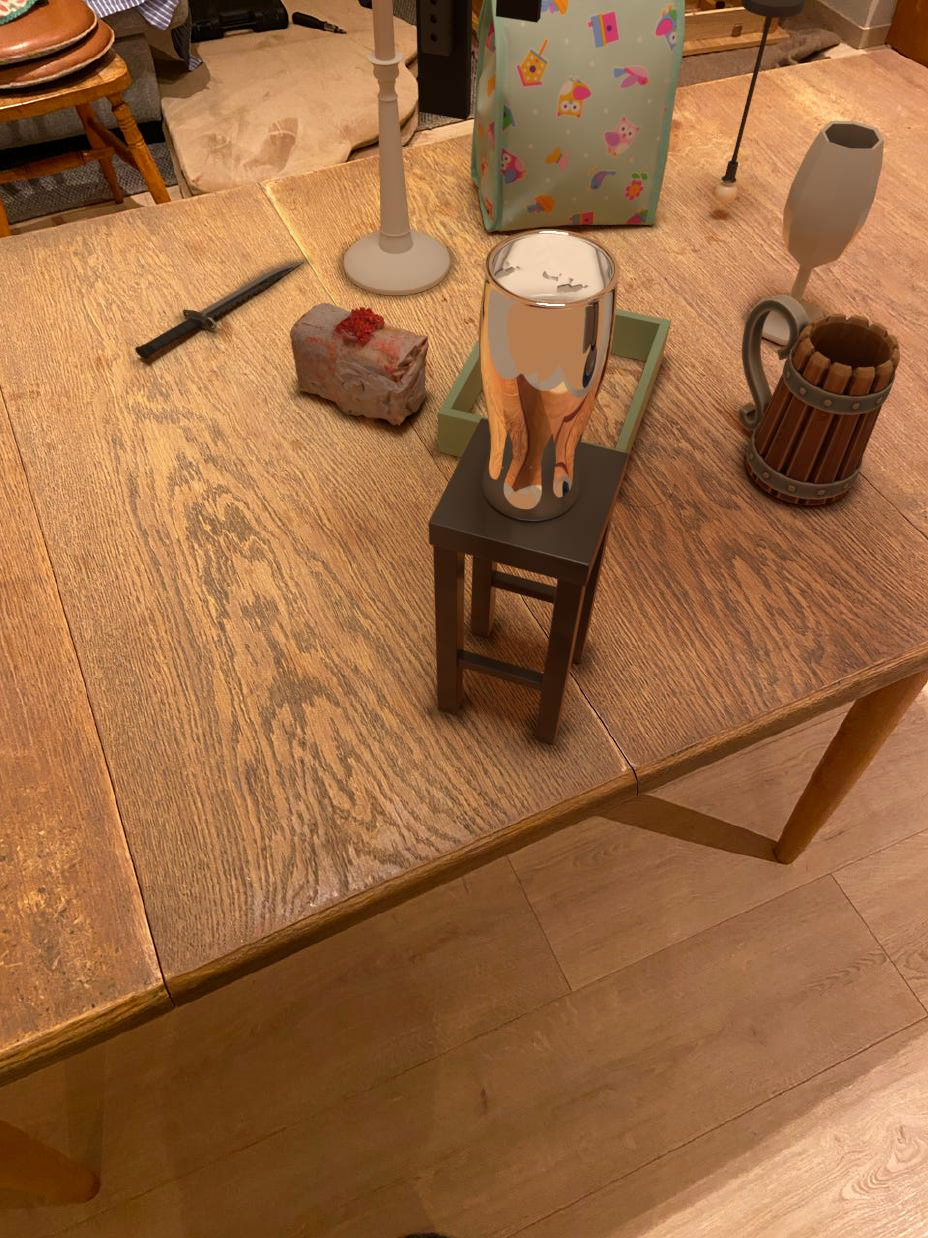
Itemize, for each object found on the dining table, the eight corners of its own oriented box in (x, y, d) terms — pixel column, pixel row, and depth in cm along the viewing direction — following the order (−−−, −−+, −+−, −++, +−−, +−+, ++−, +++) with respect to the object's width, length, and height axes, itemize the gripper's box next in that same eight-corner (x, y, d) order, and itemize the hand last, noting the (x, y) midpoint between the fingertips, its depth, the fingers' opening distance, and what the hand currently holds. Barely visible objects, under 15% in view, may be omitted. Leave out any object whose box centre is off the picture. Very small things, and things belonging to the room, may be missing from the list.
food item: (440, 395, 94) (439, 313, 86) (403, 442, 90) (398, 360, 82) (329, 358, 98) (318, 276, 90) (288, 401, 93) (273, 319, 85)
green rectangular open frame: (662, 359, 98) (671, 319, 94) (615, 496, 86) (623, 457, 82) (505, 325, 101) (507, 285, 97) (438, 451, 89) (437, 412, 85)
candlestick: (455, 238, 112) (455, -49, 88) (443, 298, 104) (440, 2, 80) (353, 232, 112) (326, -55, 88) (335, 291, 105) (299, -5, 81)
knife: (283, 247, 109) (313, 257, 107) (286, 262, 110) (316, 272, 108) (123, 338, 96) (154, 352, 94) (128, 353, 97) (159, 367, 95)
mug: (876, 480, 87) (943, 351, 75) (800, 525, 84) (858, 397, 71) (759, 393, 95) (803, 263, 83) (685, 431, 91) (720, 301, 79)
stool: (587, 648, 75) (629, 452, 57) (555, 748, 69) (589, 565, 52) (474, 616, 77) (481, 417, 59) (434, 711, 71) (427, 522, 54)
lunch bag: (631, 167, 123) (669, -72, 101) (663, 233, 113) (713, -16, 91) (465, 178, 121) (468, -64, 99) (483, 245, 111) (490, -6, 89)
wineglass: (821, 355, 99) (897, 164, 82) (742, 339, 100) (800, 148, 83) (829, 310, 104) (902, 121, 87) (753, 295, 105) (810, 107, 88)
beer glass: (475, 445, 58) (481, 224, 46) (584, 448, 58) (619, 227, 45) (473, 526, 53) (478, 305, 41) (589, 529, 53) (629, 309, 41)
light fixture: (715, 237, 113) (771, 10, 92) (682, 212, 116) (730, -12, 96) (756, 223, 115) (820, -1, 94) (723, 199, 118) (778, -23, 98)
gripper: (504, -543, 43) (489, -24, 60) (271, -520, 29) (338, 149, 46) (658, -538, 42) (598, -8, 59) (493, -511, 27) (477, 175, 45)
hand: (484, 62), depth 52 cm, fingers open, 13 cm apart
